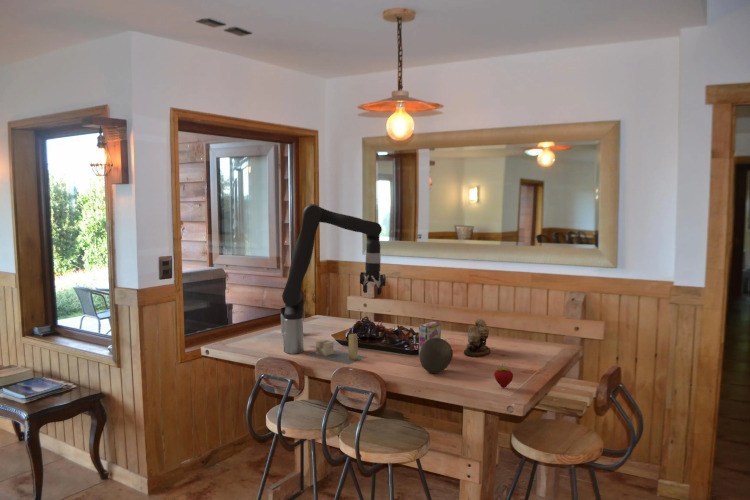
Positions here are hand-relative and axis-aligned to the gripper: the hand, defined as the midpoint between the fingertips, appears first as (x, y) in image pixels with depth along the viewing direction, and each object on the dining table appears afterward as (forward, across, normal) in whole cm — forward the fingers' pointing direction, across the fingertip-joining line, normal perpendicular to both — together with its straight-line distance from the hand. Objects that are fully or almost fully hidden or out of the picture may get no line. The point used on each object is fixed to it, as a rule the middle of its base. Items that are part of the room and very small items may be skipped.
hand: (372, 293), depth 285 cm
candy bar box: (+28, +33, +4) cm, 43 cm away
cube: (+29, -12, -21) cm, 38 cm away
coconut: (+28, +47, -14) cm, 56 cm away
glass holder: (+30, -56, +2) cm, 64 cm away
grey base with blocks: (+29, -5, -21) cm, 36 cm away
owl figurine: (+26, +48, +24) cm, 60 cm away
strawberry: (+27, +80, -18) cm, 86 cm away
